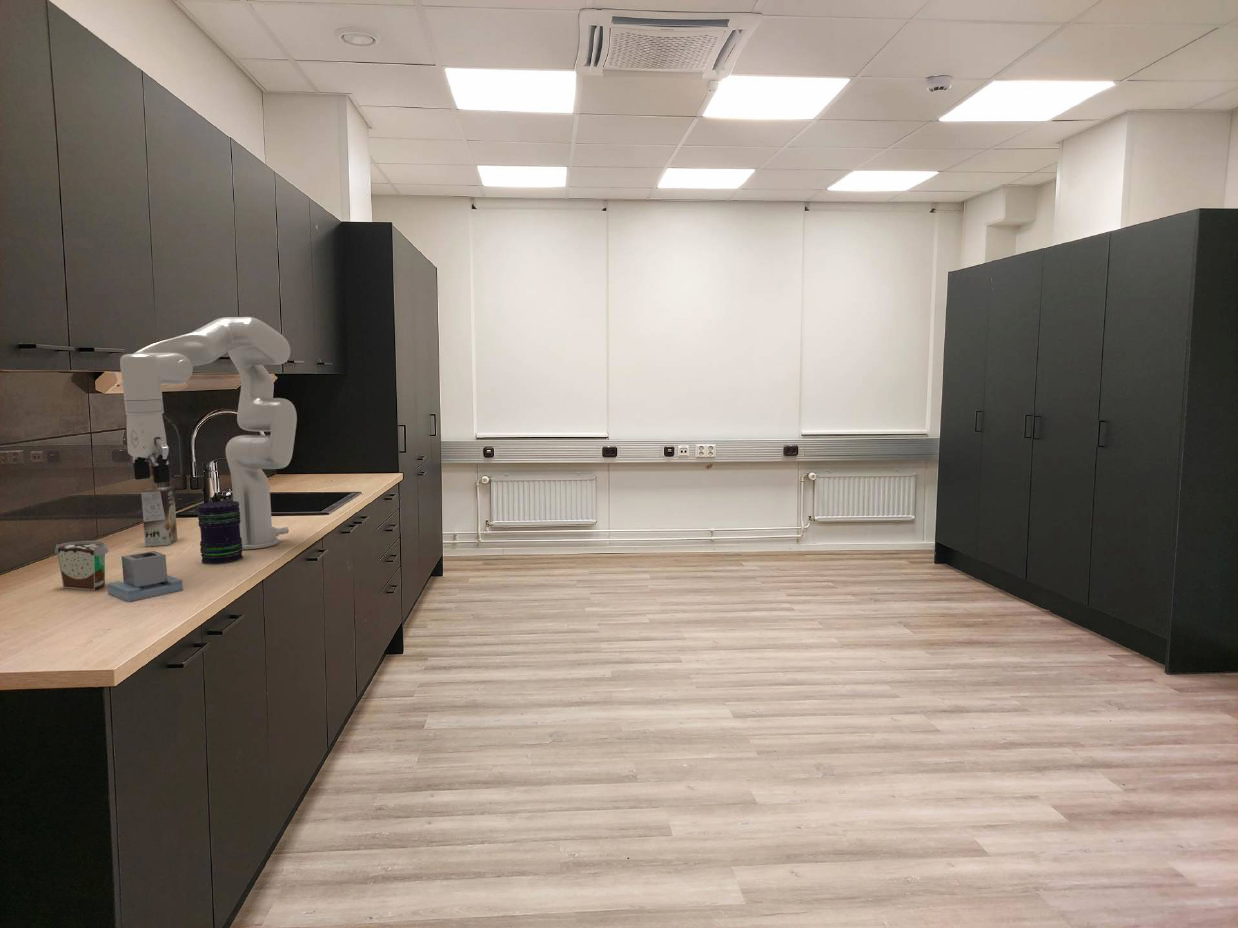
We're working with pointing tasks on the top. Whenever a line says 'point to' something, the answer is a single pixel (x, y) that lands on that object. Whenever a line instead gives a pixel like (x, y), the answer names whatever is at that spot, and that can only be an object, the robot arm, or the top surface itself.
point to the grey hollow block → (144, 568)
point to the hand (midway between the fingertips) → (152, 480)
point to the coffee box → (159, 516)
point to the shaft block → (144, 589)
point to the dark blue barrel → (220, 532)
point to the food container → (82, 564)
